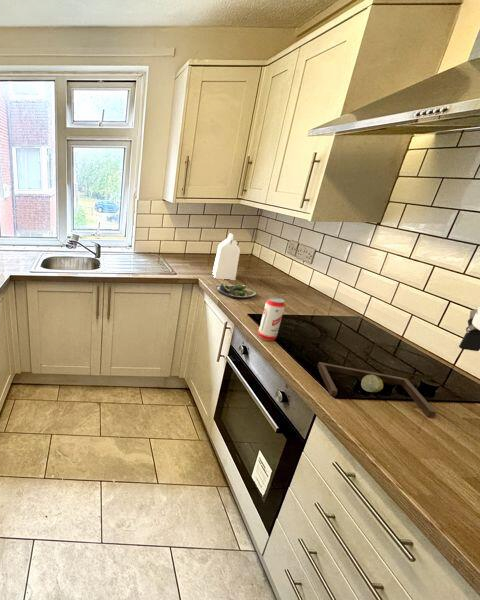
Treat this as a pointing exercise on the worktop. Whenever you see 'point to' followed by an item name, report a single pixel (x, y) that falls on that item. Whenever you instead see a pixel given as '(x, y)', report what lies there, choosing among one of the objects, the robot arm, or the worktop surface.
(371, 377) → the pale green round lump
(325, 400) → the worktop surface
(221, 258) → the milk
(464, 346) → the robot arm
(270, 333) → the beer can
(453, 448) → the worktop surface
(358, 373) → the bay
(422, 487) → the worktop surface
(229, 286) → the salad plate
